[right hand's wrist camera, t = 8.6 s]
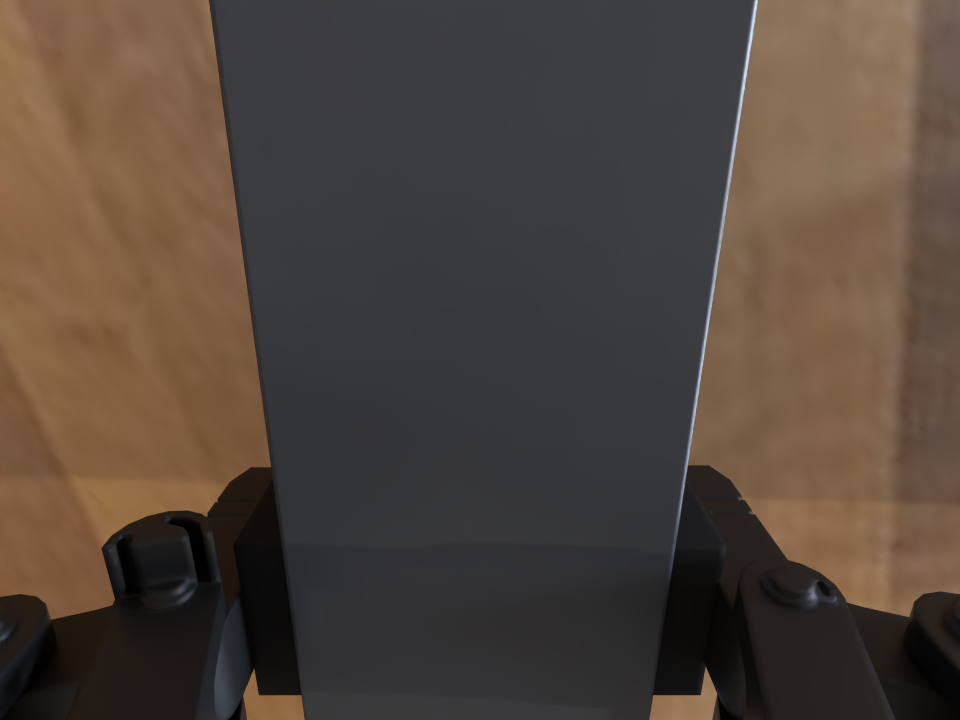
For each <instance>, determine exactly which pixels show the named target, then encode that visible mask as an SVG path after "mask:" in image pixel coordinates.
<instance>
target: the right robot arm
mask: <svg viewBox="0 0 960 720" xmlns="http://www.w3.org/2000/svg"><path fill="white" fill-rule="evenodd" d="M102 552H103V556H104V559H105V563H106V567H107V571H108V574H109V578H110V582H111V586H112V589H113V593H114V597H115V601H114V603H113V605H112V606H108V607H105V608H102V609H98V610H94V611H89V612H85V613H80V614H76V615H71V616H67V617H62V618H58V619H53V620H51V619H50V616H49V612H48V609H47V606H46V604H45V603H44V602H43V601H41V600H40V599H39V598H38V597H36V596H29V595H22V594H19V595H11V596H4V597H0V720H247V717H246V709H245V703H244V698H243V694H244V691H245V689H246V686H247V684H248V682H249V679H250V677H251V675H252V672H253V670H254V669H255V675H256V681H257V686H258V692H259V695H302V694H301V687H300V679H299V672H298V664H297V657H296V649H295V642H294V634H293V627H292V619H291V612H290V604H289V597H288V589H287V582H286V574H285V567H284V559H283V552H282V544H281V537H280V529H279V521H278V514H277V506H276V499H275V491H274V484H273V476H272V469H271V467H251V468H250V469H248V470H247V471H245V472H244V473H242V474H241V475H239V476H238V477H237V478H235V479H234V480H232V481H231V482H230V483H229V484H228V485H227V487H226V488H225V490H224V491H223V492H222V494H221V495H220V497H219V498H218V502H215V504H214V505H213V506H212V508H211V509H210V510H209V512H208V516H207V517H205V516H204V515H202V514H199V513H195V512H191V511H168V512H163V513H159V514H155V515H150V516H147V517H145V518H142V519H140V520H137V521H135V522H133V523H130V524H128V525H127V526H125V527H124V528H122V529H121V530H119V531H118V532H116V533H115V534H113V535H112V536H111V537H110V538H109V540H108V541H107V542H106V543H105V544H104V546H103V547H102ZM705 667H706V668H707V670H708V672H709V675H710V677H711V680H712V682H713V684H714V687H715V689H716V691H717V698H716V703H715V709H714V714H713V719H712V720H960V594H954V593H947V592H934V593H927V594H923V595H922V596H921V597H919V598H918V599H917V600H916V601H914V605H913V608H912V611H911V614H910V617H905V616H901V615H896V614H892V613H887V612H883V611H878V610H873V609H869V608H864V607H860V606H857V605H853V604H850V603H847V602H846V600H845V598H844V596H843V595H842V594H841V592H840V591H839V589H838V588H837V586H836V585H835V584H834V583H832V582H831V581H830V580H828V579H827V578H826V577H825V576H823V575H822V574H821V573H819V572H817V571H815V570H813V569H811V568H809V567H807V566H805V565H803V564H800V563H796V562H792V561H789V560H787V558H786V557H785V555H784V554H783V553H782V551H781V550H780V548H779V547H778V546H777V544H776V543H775V542H774V540H773V539H772V537H771V536H770V535H769V533H768V532H767V530H766V529H765V528H764V526H763V525H762V524H761V522H760V521H759V519H758V518H757V517H756V515H753V514H752V510H751V508H750V507H749V506H748V504H747V503H746V501H745V500H742V496H741V495H740V493H739V492H738V490H737V489H736V488H735V486H734V485H733V483H732V482H731V481H730V480H729V479H728V478H726V477H725V476H723V475H722V474H720V473H719V472H718V471H716V470H715V469H713V468H712V467H710V466H688V467H687V473H686V480H685V487H684V493H683V500H682V506H681V513H680V520H679V526H678V533H677V539H676V546H675V553H674V559H673V566H672V572H671V579H670V586H669V592H668V599H667V605H666V612H665V619H664V625H663V632H662V638H661V645H660V652H659V658H658V665H657V671H656V678H655V685H654V691H653V695H701V690H702V684H703V678H704V673H705Z"/></svg>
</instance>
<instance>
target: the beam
mask: <svg viewBox="0 0 960 720" xmlns="http://www.w3.org/2000/svg"><path fill="white" fill-rule="evenodd" d="M209 4H210V11H211V19H212V26H213V34H214V41H215V49H216V56H217V64H218V71H219V79H220V86H221V94H222V101H223V109H224V116H225V124H226V131H227V139H228V146H229V154H230V161H231V169H232V176H233V184H234V191H235V199H236V206H237V214H238V221H239V229H240V236H241V244H242V251H243V259H244V266H245V274H246V281H247V289H248V296H249V304H250V311H251V319H252V326H253V334H254V341H255V349H256V356H257V364H258V371H259V379H260V386H261V394H262V401H263V409H264V416H265V424H266V431H267V439H268V446H269V454H270V461H271V469H272V476H273V484H274V491H275V499H276V506H277V514H278V521H279V529H280V537H281V544H282V552H283V559H284V567H285V574H286V582H287V589H288V597H289V604H290V612H291V619H292V627H293V634H294V642H295V649H296V657H297V664H298V672H299V679H300V687H301V694H302V702H303V709H304V717H305V720H649V718H650V711H651V705H652V698H653V691H654V685H655V678H656V671H657V665H658V658H659V652H660V645H661V638H662V632H663V625H664V619H665V612H666V605H667V599H668V592H669V586H670V579H671V572H672V566H673V559H674V553H675V546H676V539H677V533H678V526H679V520H680V513H681V506H682V500H683V493H684V487H685V480H686V473H687V467H688V460H689V454H690V447H691V440H692V434H693V427H694V421H695V414H696V407H697V401H698V394H699V388H700V381H701V374H702V368H703V361H704V354H705V348H706V341H707V335H708V328H709V321H710V315H711V308H712V302H713V295H714V288H715V282H716V275H717V269H718V262H719V255H720V249H721V242H722V236H723V229H724V222H725V216H726V209H727V203H728V196H729V189H730V183H731V176H732V170H733V163H734V156H735V150H736V143H737V137H738V130H739V123H740V117H741V110H742V104H743V97H744V90H745V84H746V77H747V71H748V64H749V57H750V51H751V44H752V38H753V31H754V24H755V18H756V11H757V4H758V0H209Z"/></svg>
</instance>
